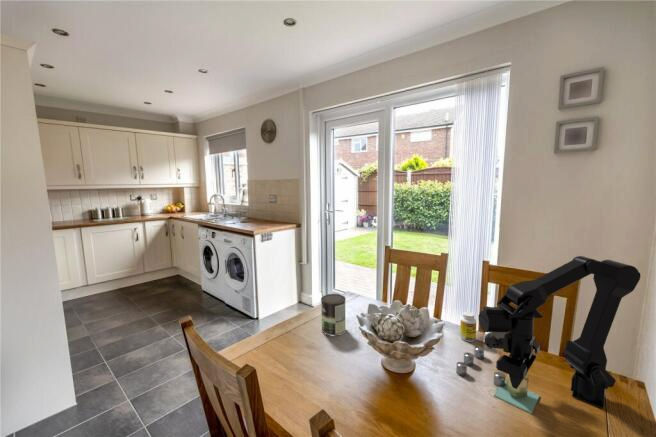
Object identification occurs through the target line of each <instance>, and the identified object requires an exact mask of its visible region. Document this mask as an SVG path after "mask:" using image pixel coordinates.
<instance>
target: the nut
mask: <svg viewBox="0 0 656 437" xmlns="http://www.w3.org/2000/svg"><path fill="white" fill-rule="evenodd" d="M506 381H507V388H506V389H507V391H508V392H509V393H510V394H511V395H513V396H515V397H518V398H526V397H527V395H528V391H529V376H528V374H526V376H525V377H524V379H523V380H522V382H521V383H520V385H519V386H518V388H517V389H515V388H513V387H512V384H511V381H510V377H509V374H507V373H506Z"/></svg>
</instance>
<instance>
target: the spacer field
mask: <svg viewBox="0 0 656 437" xmlns="http://www.w3.org/2000/svg"><path fill="white" fill-rule="evenodd" d="M473 348H474V351H473V353H471V352H464V353H463V361H457V362H456V368H455V369H456V375H458V376H460V377H467V372H468V371H467V370H468V367H473V366H474V364H475V362H474V361H475V360H474V359H475V358H476V359H478V360H484V358H485V349H484V347H481V346H477V345H475V346H474V347H473ZM467 366H468V367H467ZM506 379H507V375H505V373H504V372H503V373H502V372H501V371H500V372H499V371H494V372H493V385H494V386H496V387H497V388H499V386H502V387H503V386H505V381H506Z"/></svg>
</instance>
